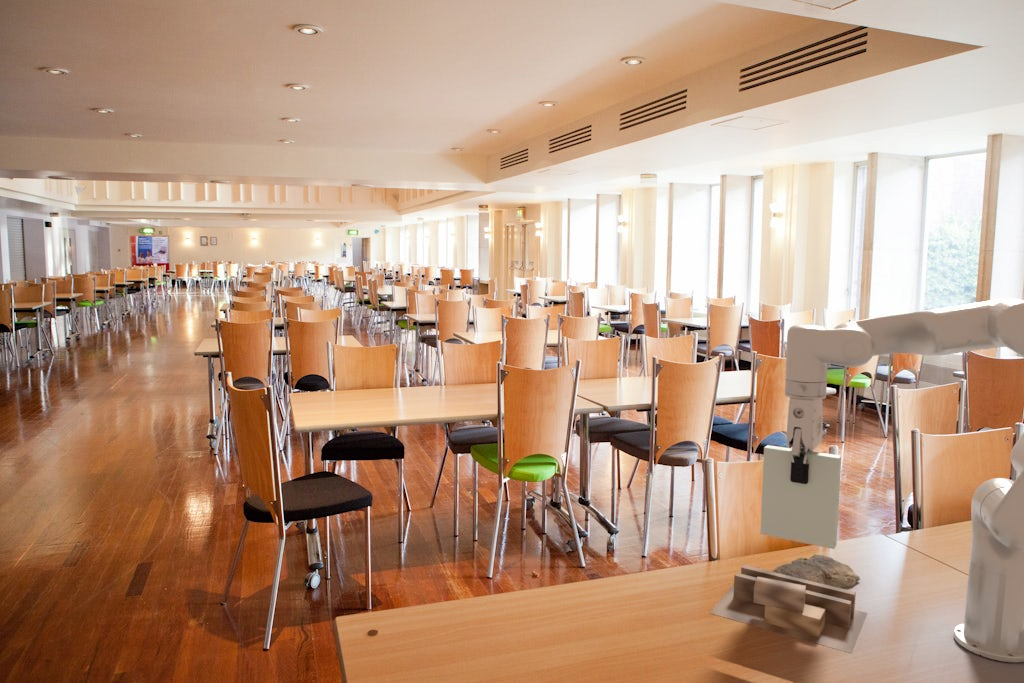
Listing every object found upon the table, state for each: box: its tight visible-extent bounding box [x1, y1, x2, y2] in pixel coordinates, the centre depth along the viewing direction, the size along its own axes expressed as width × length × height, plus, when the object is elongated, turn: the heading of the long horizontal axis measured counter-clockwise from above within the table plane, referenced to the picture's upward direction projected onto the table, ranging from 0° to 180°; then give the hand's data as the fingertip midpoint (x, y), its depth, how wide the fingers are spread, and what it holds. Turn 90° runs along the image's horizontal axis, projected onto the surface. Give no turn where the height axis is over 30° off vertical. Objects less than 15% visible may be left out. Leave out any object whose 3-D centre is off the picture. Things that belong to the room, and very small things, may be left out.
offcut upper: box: [753, 577, 806, 613], centre depth 145 cm, size 9×4×4 cm, turn 64°
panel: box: [760, 444, 842, 550], centre depth 148 cm, size 14×2×18 cm, turn 56°
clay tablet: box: [771, 554, 861, 589], centre depth 165 cm, size 14×5×20 cm
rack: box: [709, 564, 868, 654], centre depth 148 cm, size 26×18×6 cm
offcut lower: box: [764, 604, 826, 637], centre depth 144 cm, size 10×5×4 cm, turn 56°
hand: (801, 479), depth 148 cm, fingers closed on panel, 2 cm apart
